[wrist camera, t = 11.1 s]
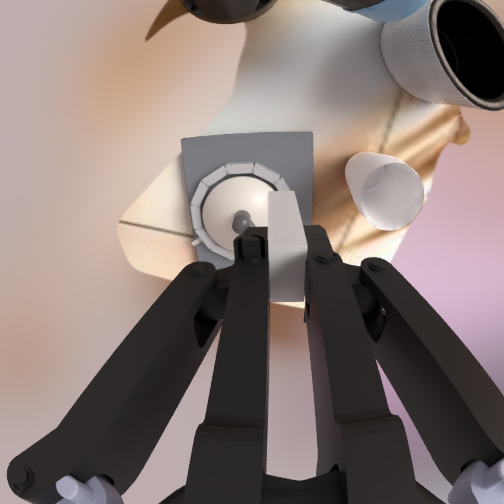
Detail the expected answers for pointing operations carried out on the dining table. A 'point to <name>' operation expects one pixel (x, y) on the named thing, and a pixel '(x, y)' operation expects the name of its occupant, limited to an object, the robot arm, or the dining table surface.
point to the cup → (384, 189)
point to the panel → (245, 163)
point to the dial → (235, 208)
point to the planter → (448, 54)
